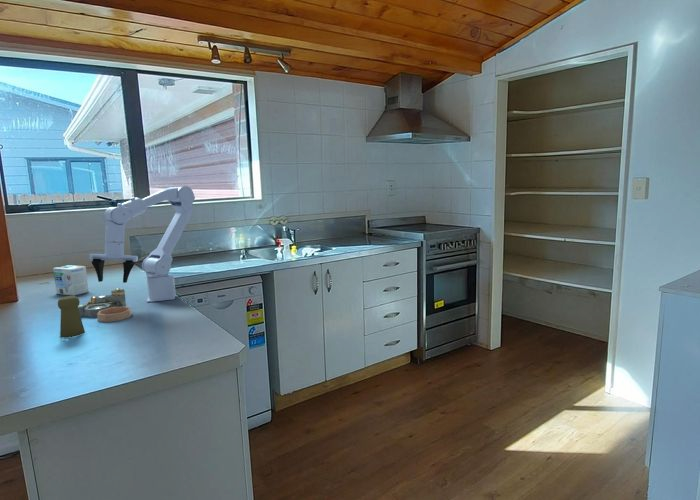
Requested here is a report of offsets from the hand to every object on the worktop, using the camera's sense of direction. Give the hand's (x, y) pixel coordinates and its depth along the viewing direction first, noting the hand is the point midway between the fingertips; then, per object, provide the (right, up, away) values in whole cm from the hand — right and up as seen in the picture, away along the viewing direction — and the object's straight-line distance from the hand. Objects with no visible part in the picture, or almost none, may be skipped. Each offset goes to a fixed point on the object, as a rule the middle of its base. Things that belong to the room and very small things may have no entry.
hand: (112, 281), depth 145 cm
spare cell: (-6, -9, +5) cm, 12 cm away
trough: (-6, -9, +5) cm, 12 cm away
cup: (+5, -11, -8) cm, 14 cm away
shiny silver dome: (-3, -9, -3) cm, 10 cm away
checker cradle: (-3, -10, -3) cm, 11 cm away
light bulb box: (-32, -7, +28) cm, 42 cm away
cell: (+2, -10, +2) cm, 10 cm away
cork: (+1, -14, -23) cm, 27 cm away
